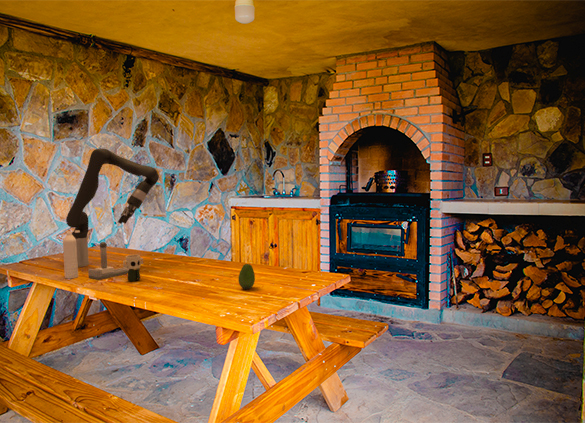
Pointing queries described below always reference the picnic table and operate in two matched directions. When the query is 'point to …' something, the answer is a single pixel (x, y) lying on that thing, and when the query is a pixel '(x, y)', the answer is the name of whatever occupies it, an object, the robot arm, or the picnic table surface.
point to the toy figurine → (133, 266)
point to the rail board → (97, 276)
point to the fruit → (246, 277)
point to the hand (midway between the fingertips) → (121, 222)
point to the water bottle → (70, 256)
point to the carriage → (104, 260)
